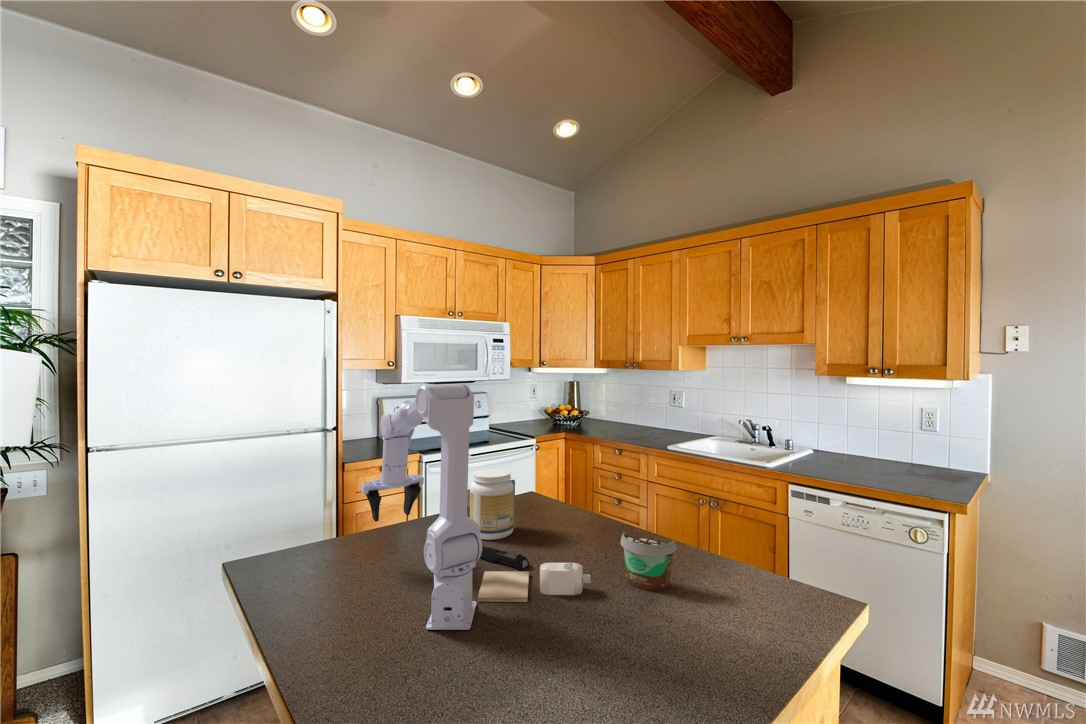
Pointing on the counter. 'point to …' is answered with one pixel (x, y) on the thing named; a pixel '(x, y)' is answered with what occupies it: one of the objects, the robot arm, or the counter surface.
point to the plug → (562, 578)
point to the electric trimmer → (505, 558)
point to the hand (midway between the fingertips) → (391, 516)
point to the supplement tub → (492, 503)
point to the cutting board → (504, 586)
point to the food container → (648, 562)
